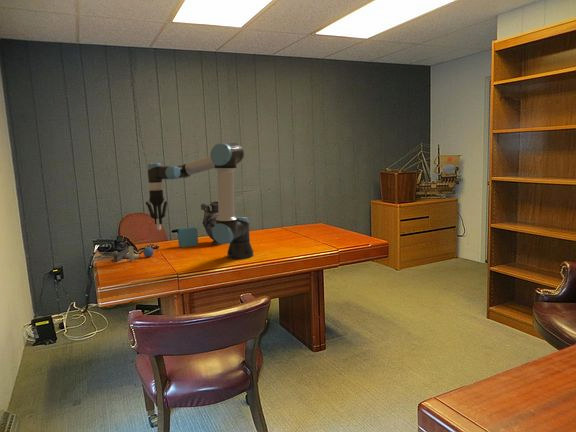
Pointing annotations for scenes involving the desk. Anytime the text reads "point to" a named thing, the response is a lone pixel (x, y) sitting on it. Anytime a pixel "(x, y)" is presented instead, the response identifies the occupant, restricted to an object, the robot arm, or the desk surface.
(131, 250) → the sage pin
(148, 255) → the ball
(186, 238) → the data package
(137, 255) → the ivory pin
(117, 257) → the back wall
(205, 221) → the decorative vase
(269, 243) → the desk surface
